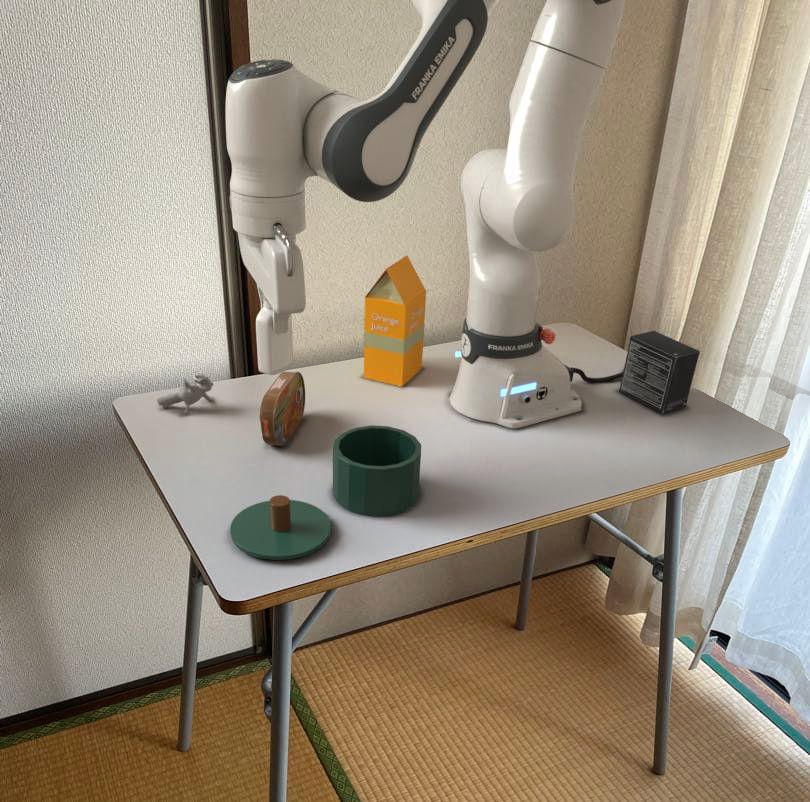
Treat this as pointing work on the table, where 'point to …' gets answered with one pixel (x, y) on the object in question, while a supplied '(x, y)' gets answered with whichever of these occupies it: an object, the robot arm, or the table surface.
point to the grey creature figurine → (188, 392)
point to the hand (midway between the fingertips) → (274, 322)
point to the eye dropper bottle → (272, 343)
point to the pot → (376, 470)
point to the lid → (280, 529)
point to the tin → (282, 408)
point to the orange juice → (394, 325)
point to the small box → (658, 371)
